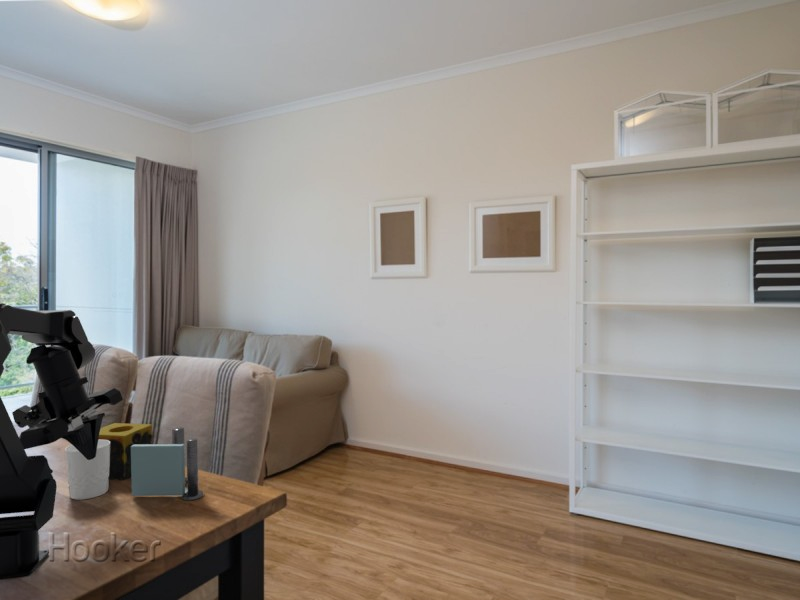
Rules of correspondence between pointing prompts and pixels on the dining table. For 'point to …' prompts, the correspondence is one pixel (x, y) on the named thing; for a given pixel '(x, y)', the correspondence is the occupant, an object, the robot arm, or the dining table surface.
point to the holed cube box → (124, 445)
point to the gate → (158, 469)
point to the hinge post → (192, 472)
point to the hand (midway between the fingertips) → (91, 458)
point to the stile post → (178, 437)
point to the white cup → (88, 471)
